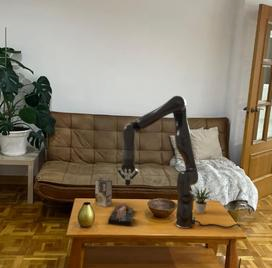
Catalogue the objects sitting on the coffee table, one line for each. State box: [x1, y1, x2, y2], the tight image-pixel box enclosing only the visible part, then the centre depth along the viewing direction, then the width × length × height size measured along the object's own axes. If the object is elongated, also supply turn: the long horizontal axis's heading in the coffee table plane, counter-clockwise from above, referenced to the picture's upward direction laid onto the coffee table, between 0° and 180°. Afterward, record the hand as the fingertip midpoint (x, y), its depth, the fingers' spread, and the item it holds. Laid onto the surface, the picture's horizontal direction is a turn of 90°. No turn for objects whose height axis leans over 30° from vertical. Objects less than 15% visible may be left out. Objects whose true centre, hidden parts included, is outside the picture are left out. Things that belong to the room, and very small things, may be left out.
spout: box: [117, 206, 126, 220], centre depth 209 cm, size 8×2×5 cm, turn 158°
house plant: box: [194, 186, 212, 214], centre depth 229 cm, size 14×14×16 cm
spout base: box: [107, 212, 135, 227], centre depth 210 cm, size 13×12×3 cm
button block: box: [112, 204, 134, 215], centre depth 223 cm, size 11×9×4 cm
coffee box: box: [94, 177, 113, 208], centre depth 234 cm, size 9×6×16 cm
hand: (127, 185), depth 217 cm, fingers closed
